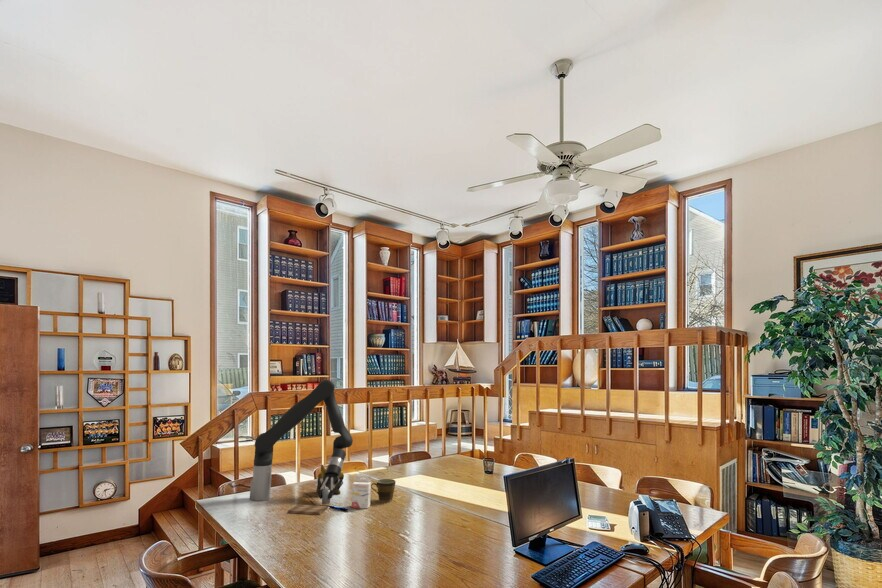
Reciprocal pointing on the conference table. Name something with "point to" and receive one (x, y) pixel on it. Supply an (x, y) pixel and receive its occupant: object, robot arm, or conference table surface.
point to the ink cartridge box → (361, 492)
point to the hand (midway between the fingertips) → (324, 498)
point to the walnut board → (308, 509)
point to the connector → (325, 497)
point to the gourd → (323, 481)
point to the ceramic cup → (385, 489)
